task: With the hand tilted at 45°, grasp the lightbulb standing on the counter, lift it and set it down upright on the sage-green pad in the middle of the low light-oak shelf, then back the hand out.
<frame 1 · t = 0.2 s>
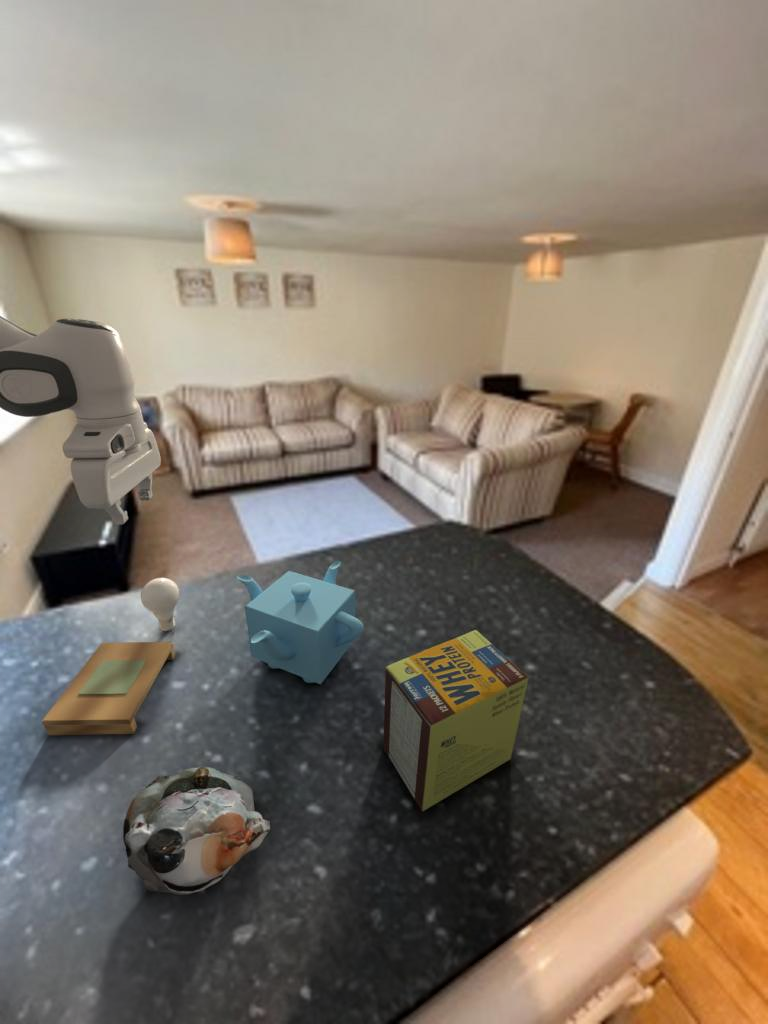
hand: (134, 510, 76), 24 cm above the worktop, tool pointing down, fingers open, 8 cm apart
protein box: (445, 754, 63), on the worktop
teakettle: (300, 654, 80), on the worktop
shelf: (118, 691, 72), on the worktop
lucky cat figurine: (205, 845, 52), on the worktop
lightbulb: (168, 629, 85), on the worktop
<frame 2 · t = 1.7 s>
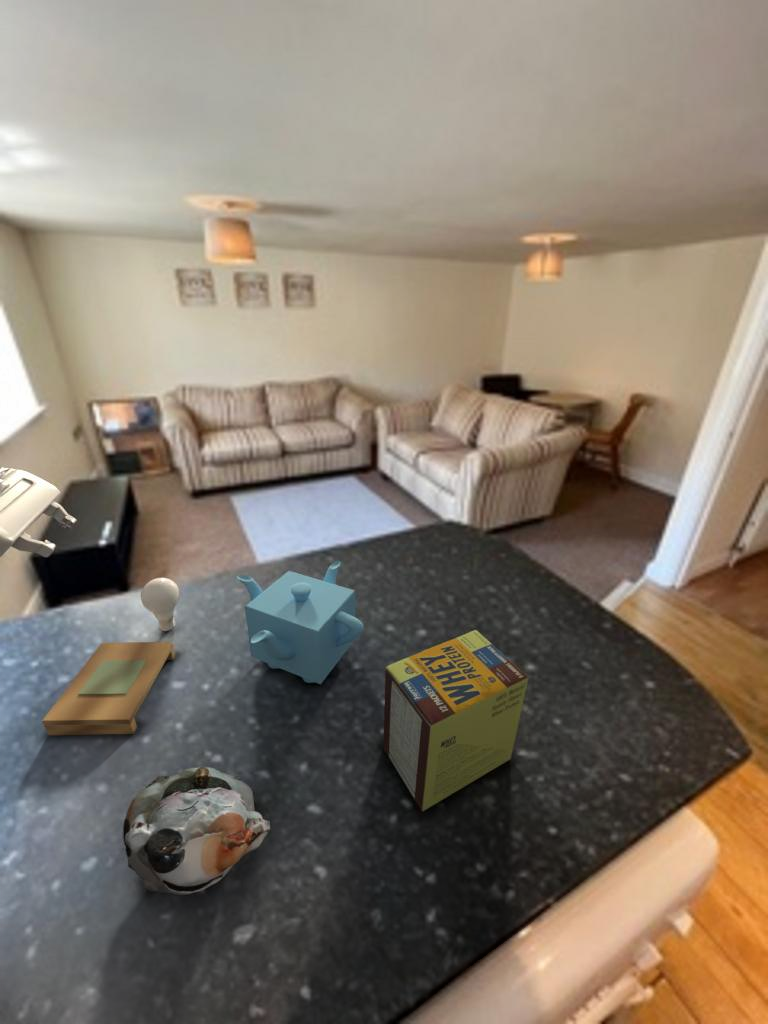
hand: (63, 537, 73), 21 cm above the worktop, tool tilted 45°, fingers open, 8 cm apart
nothing on the worktop moved.
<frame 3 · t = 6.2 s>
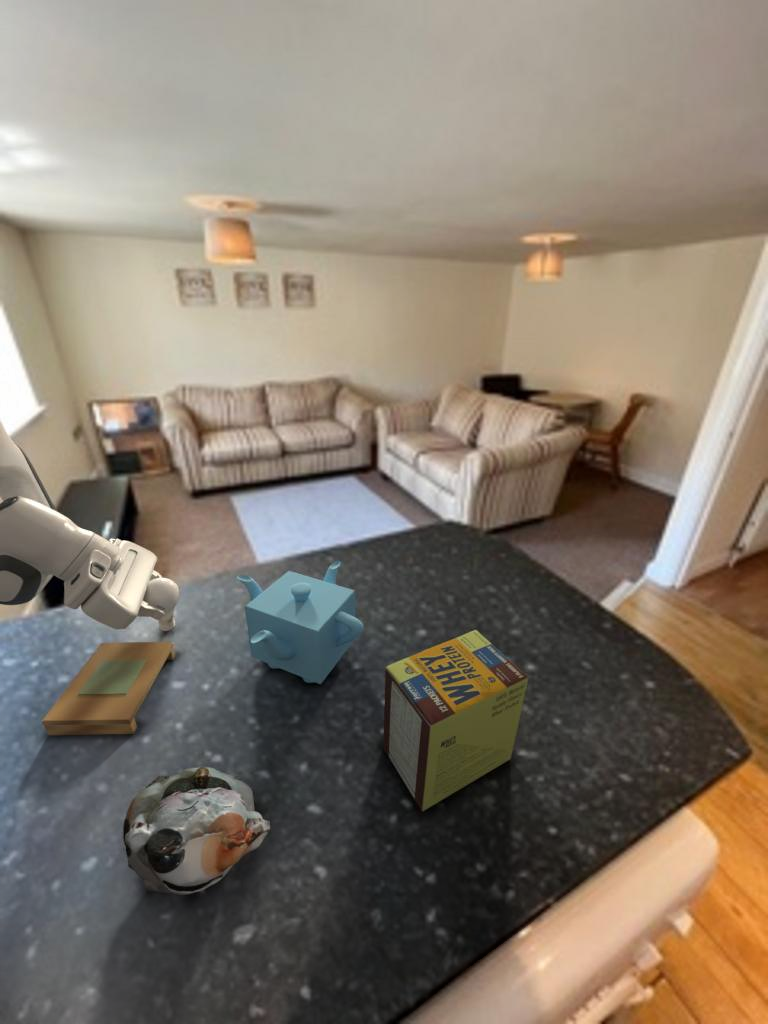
hand: (166, 602, 83), 6 cm above the worktop, tool tilted 45°, fingers closed on lightbulb, 6 cm apart
lightbulb: (168, 629, 85), on the worktop, touching gripper
everything else where it was.
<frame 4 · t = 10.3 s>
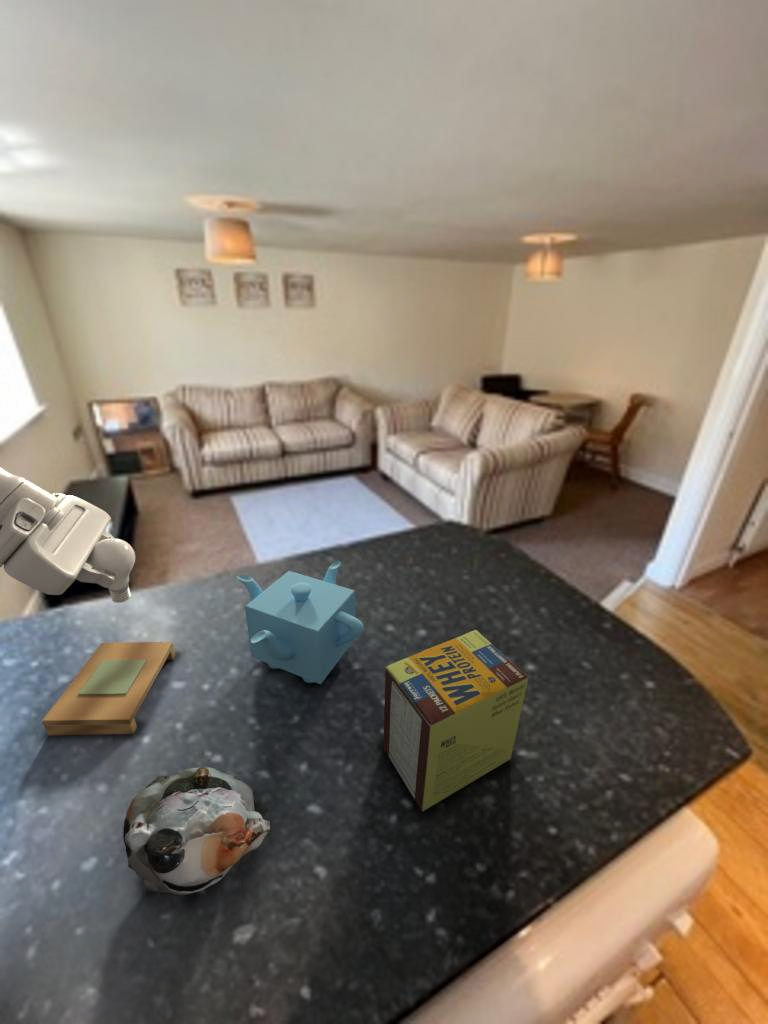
hand: (118, 568, 69), 19 cm above the worktop, tool tilted 45°, fingers closed on lightbulb, 6 cm apart
lightbulb: (122, 601, 72), point 13 cm above the worktop, touching gripper
everything else where it was.
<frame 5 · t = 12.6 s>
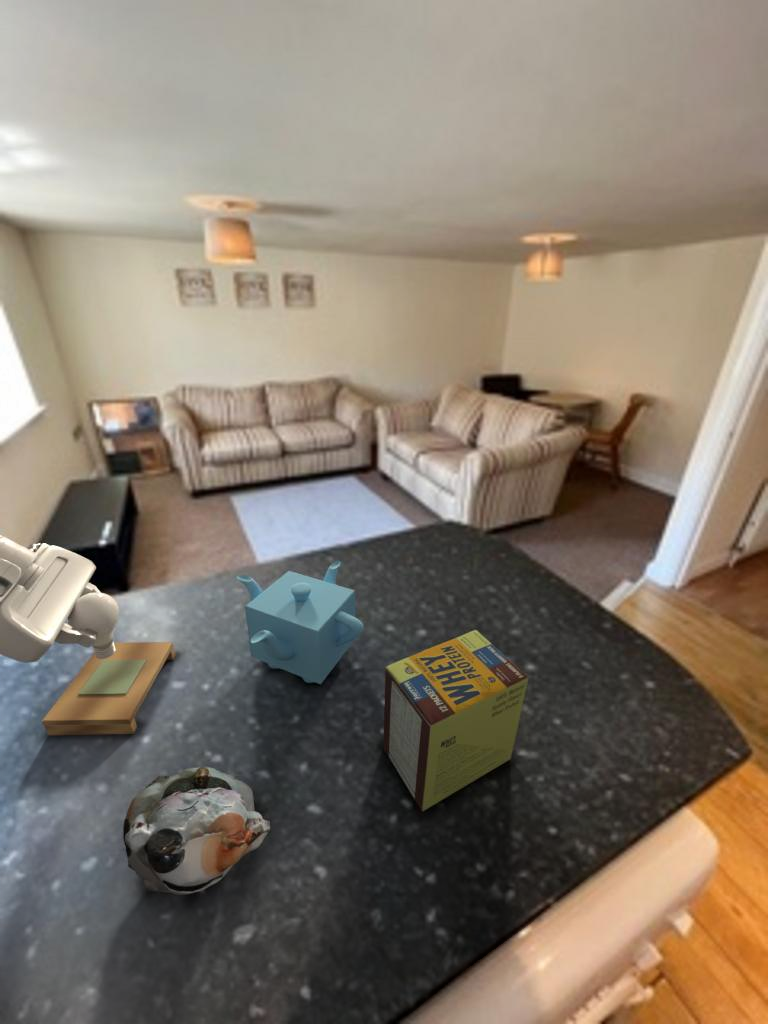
hand: (102, 623, 66), 14 cm above the worktop, tool tilted 45°, fingers closed on lightbulb, 6 cm apart
lightbulb: (107, 656, 68), point 7 cm above the worktop, touching gripper
everything else where it was.
when the fingers open (9 cm above the worktop, at t = 14.4 s): lightbulb stays where it is, resting on shelf.
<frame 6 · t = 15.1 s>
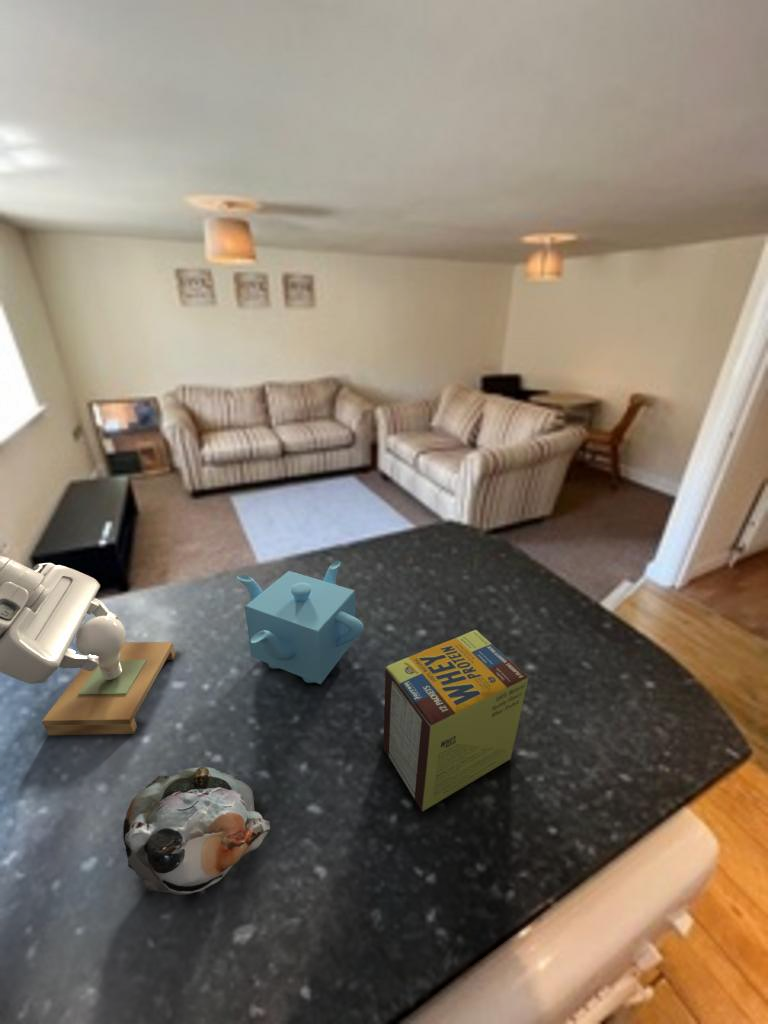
hand: (106, 642, 68), 10 cm above the worktop, tool tilted 45°, fingers open, 8 cm apart
lightbulb: (113, 677, 70), point 3 cm above the worktop, touching shelf
everything else where it was.
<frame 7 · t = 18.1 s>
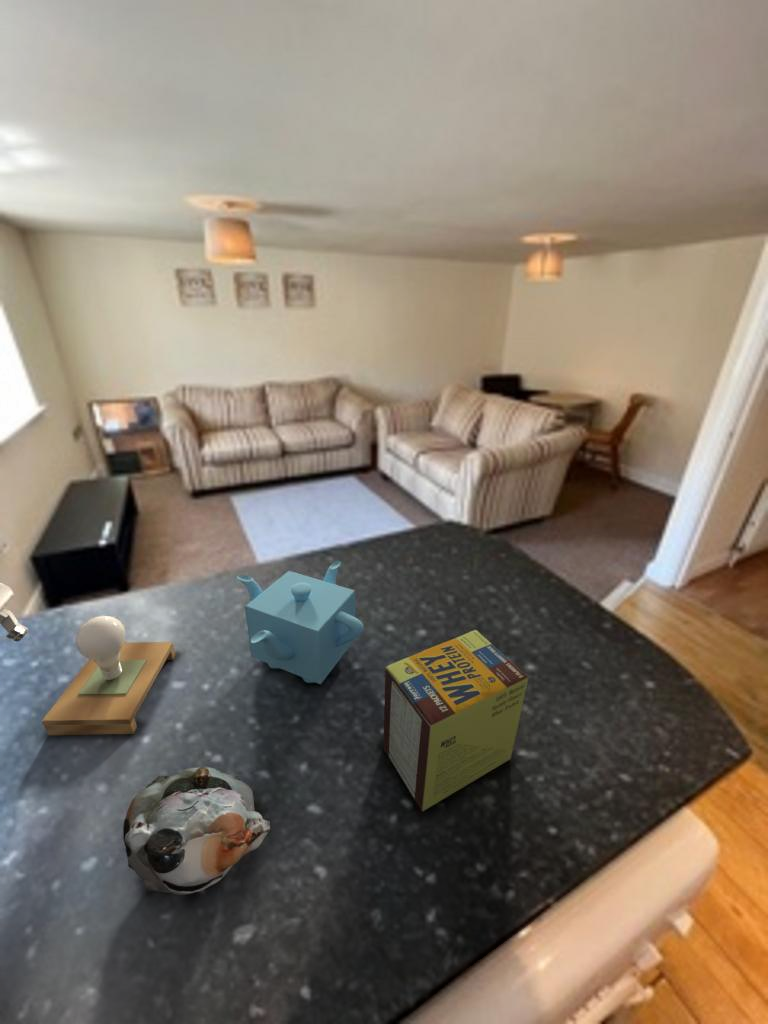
hand: (7, 658, 64), 10 cm above the worktop, tool tilted 40°, fingers open, 8 cm apart
nothing on the worktop moved.
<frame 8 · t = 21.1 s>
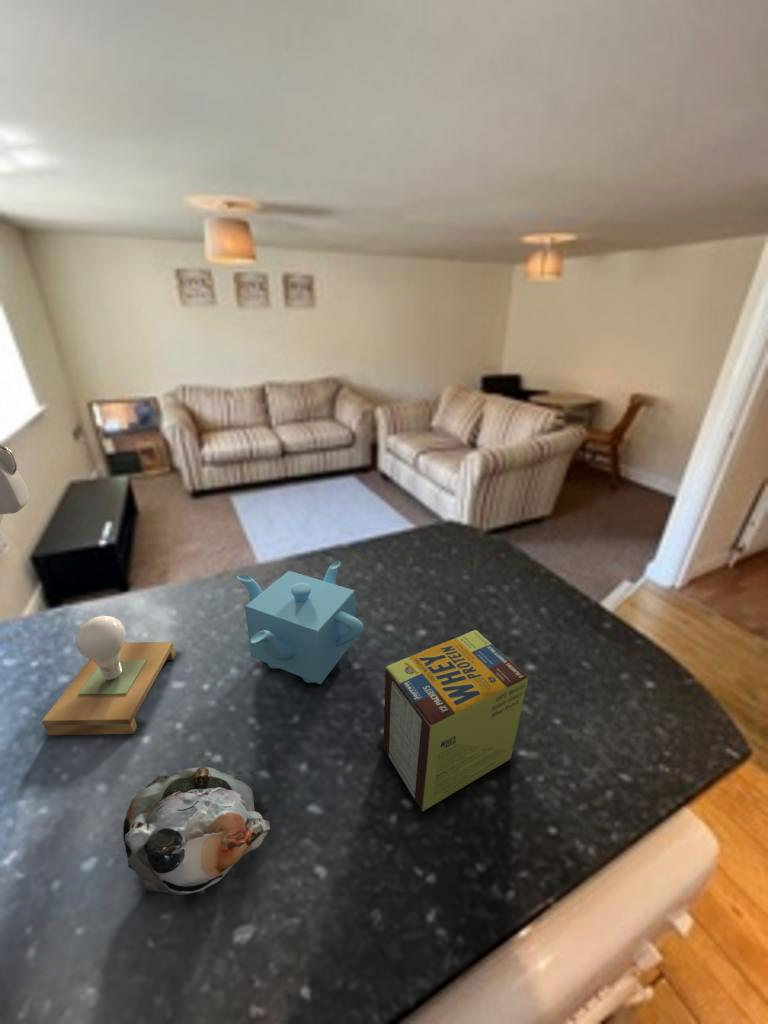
nothing on the worktop moved.
at the end: lightbulb 0.1 cm from the target spot, point 3.0 cm above the worktop; lightbulb tilted 0°; the gripper is holding nothing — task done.
